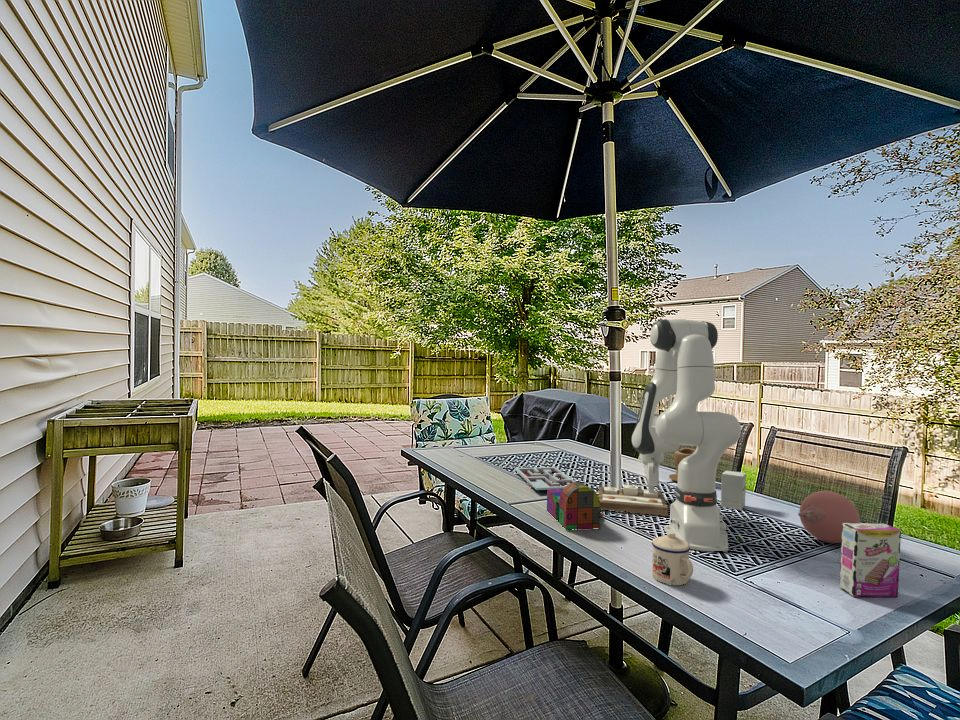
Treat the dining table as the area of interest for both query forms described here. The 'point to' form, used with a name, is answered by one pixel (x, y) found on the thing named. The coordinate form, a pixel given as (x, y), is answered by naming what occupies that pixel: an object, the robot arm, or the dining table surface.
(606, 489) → the left button
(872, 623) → the dining table surface
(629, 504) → the button board
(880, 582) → the candy bar box
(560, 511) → the block puzzle
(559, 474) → the maze game
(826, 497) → the red onion
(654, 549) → the teacup with lid
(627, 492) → the middle button
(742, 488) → the supplement box
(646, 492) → the right button
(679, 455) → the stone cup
